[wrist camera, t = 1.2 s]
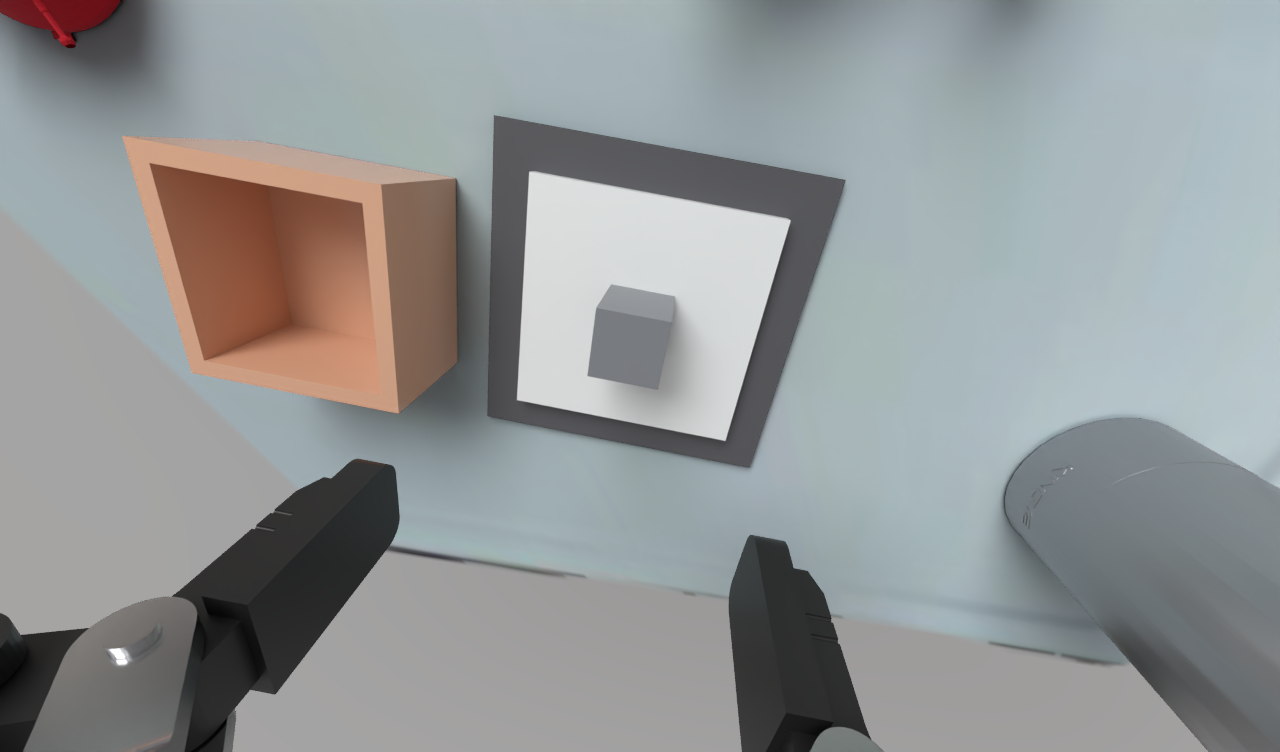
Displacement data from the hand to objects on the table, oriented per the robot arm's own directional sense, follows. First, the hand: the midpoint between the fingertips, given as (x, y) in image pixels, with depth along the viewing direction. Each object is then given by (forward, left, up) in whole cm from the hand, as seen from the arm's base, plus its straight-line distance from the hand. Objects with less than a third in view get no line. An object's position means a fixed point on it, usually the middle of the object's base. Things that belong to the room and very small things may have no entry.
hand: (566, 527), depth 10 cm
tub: (+15, 0, -16) cm, 22 cm away
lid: (0, 0, -15) cm, 15 cm away
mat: (0, 0, -16) cm, 16 cm away
